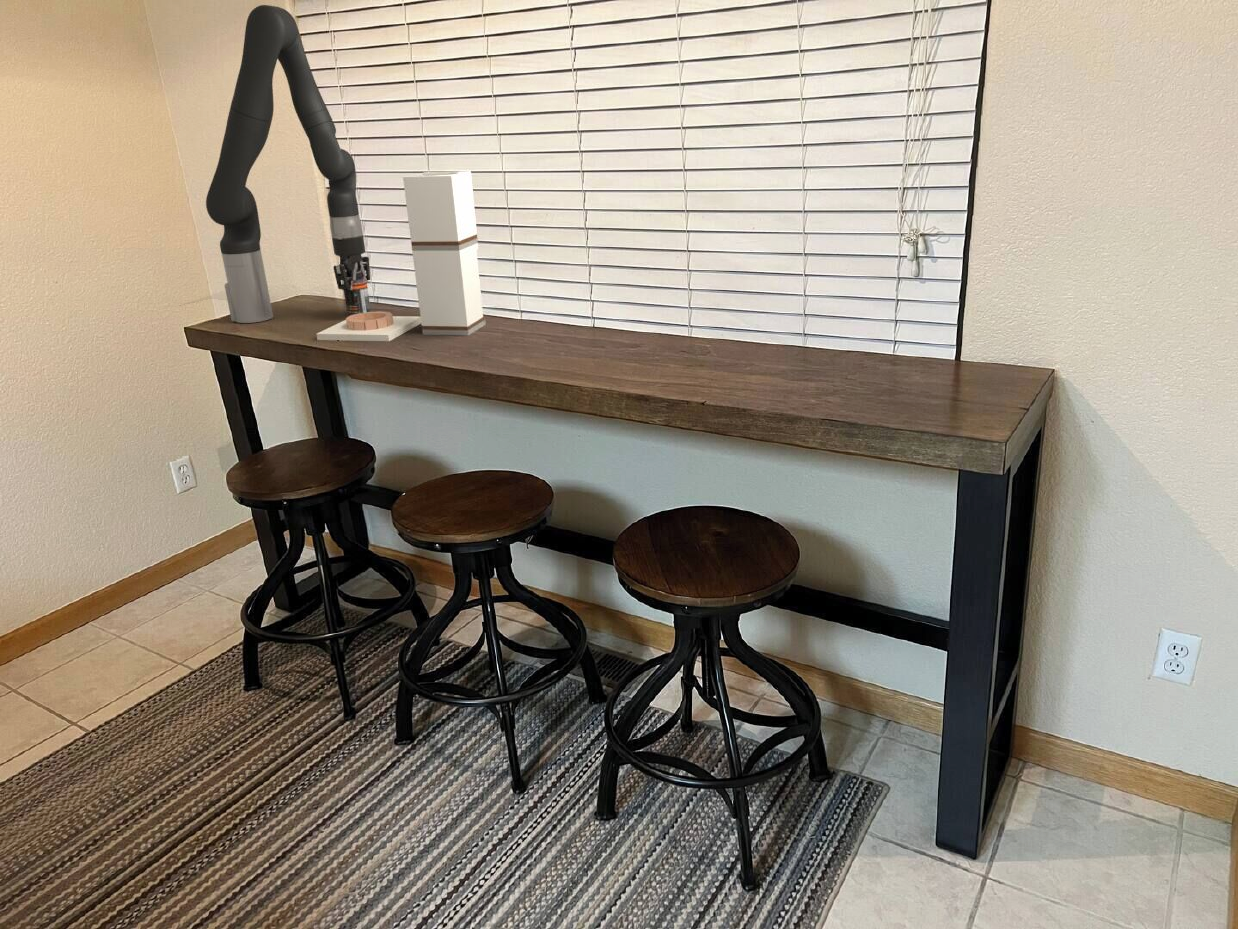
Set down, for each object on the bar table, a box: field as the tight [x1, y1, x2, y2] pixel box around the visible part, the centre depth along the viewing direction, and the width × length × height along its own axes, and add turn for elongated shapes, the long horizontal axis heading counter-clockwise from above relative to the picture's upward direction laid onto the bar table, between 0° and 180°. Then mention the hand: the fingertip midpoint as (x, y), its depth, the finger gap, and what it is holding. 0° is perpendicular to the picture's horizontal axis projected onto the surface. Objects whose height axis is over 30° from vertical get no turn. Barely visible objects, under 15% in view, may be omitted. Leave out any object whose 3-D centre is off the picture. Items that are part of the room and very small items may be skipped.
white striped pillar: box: [402, 170, 486, 336], centre depth 209 cm, size 11×11×35 cm
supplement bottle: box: [343, 271, 372, 317], centre depth 231 cm, size 6×6×11 cm
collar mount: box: [316, 311, 422, 342], centre depth 217 cm, size 18×18×4 cm
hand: (357, 301), depth 232 cm, fingers closed on supplement bottle, 6 cm apart
